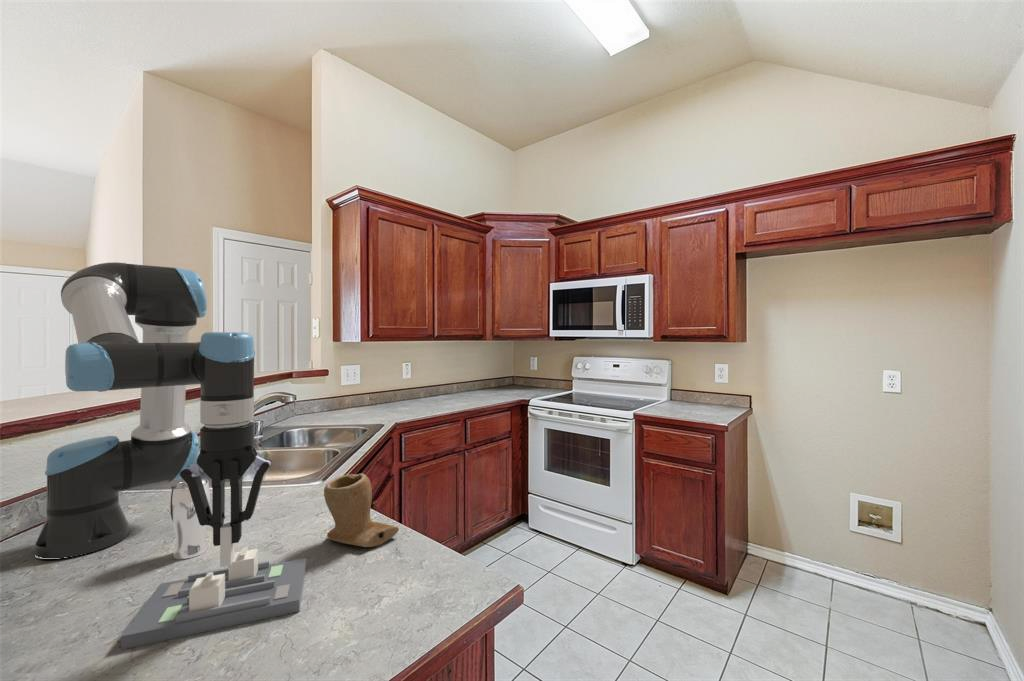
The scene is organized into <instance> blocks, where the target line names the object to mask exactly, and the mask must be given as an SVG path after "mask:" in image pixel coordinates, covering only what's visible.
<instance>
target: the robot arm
mask: <svg viewBox="0 0 1024 681" xmlns="http://www.w3.org/2000/svg"><path fill="white" fill-rule="evenodd" d="M60 299H61V303H62V306H63V307H64V309H65V310H66V311H67V312H68V313H69V314H71V315H72V316H71V317H72V321H73V325H74V329H75V334H76V339H77V343H73V344H70V345H68V346H67V347H66V349H65V354H64V355H65V362H64V366H65V368H64V372H65V373H64V374H65V383H66V387H67V388H68V389H69V390H70V391H74V392H99V393H101V392H107V391H118V390H119V391H121V390H129V389H130V390H132V389H134V390H135V389H140V410H139V411H140V413H139V425H138V426H137V427H136V428H134V429H133V430H132V431H131V434H130V436H131V437H130V439H128V440H123V441H122V440H120V439H119V437H118V436H116V435H108V436H100V437H99V436H98V437H91V438H89V439H82V440H79V441H75V442H71V443H69V444H68V443H67V444H65V445H61V446H60V447H57V448H55V449H54V450H52V451H50V453H49V454H48V456H47V458H46V470H45V471H44V475H45V476H46V516H45V517H46V518H45V521H44V523H43V525H42V527H41V530H40V532H39V534H38V536H37V539H36V542H35V544H34V556H35V555H36V556H38V557H42V558H64V557H71V556H76V555H81V554H85V553H89V554H91V553H90V552H92V553H95V552H94V551H96V552H98V551H97V550H99V551H101V550H100V549H102V550H104V549H103V548H105V547H107V548H109V547H108V546H110V547H112V546H114V545H116V544H118V543H120V542H121V540H122V541H123V540H124V538H125V537H126V536H127V535H128V536H129V534H128V533H129V532H130V528H129V526H130V525H129V522H128V520H127V518H126V515H125V513H124V511H123V508H122V507H121V505H120V503H119V502H120V501H119V494H120V492H122V491H127V490H132V489H138V488H143V487H148V486H153V485H158V484H162V483H171V482H174V481H177V480H181V479H182V480H183V482H184V481H185V482H186V483H187V484H188V488H189V491H190V494H191V498H192V501H193V504H194V508H195V511H196V514H197V517H198V521H199V524H200V525H201V526H205V525H206V526H210V527H211V528H212V544H213V546H214V547H217V546H219V548H220V551H219V557H220V558H219V560H220V563H219V566H220V568H223V567H228V566H230V565H231V564H232V562H233V560H234V558H235V552H236V551H235V546H236V545H235V544H238V543H239V542H240V540H241V538H242V531H243V529H242V528H243V527H242V525H243V522H245V521H248V520H250V519H251V518H252V516H253V514H254V512H255V508H256V506H257V502H258V498H259V495H260V491H261V487H262V484H263V479H264V476H265V474H266V472H267V471H268V469H269V468H270V466H271V464H272V460H271V459H270V458H266V459H264V458H263V457H261V456H258V452H257V450H256V449H255V444H254V443H255V441H254V440H255V438H254V437H255V436H254V434H255V433H254V432H255V427H254V426H255V424H254V423H253V422H252V420H254V418H255V395H254V391H255V386H254V385H255V384H254V383H255V355H256V352H255V347H254V346H255V344H254V337H253V335H252V334H251V333H249V332H237V331H236V332H233V331H230V332H228V331H227V332H226V331H225V332H224V331H223V332H222V331H220V332H219V331H217V332H215V331H214V332H213V331H207V332H204V333H202V335H201V336H200V341H198V342H189V332H190V331H191V330H192V329H193V328H195V327H196V326H197V325H198V324H197V323H198V321H197V320H198V319H201V318H204V317H205V316H206V314H207V310H208V307H207V306H208V303H207V294H206V290H205V284H204V282H203V279H202V277H201V276H200V275H199V274H198V273H197V272H196V271H193V270H190V269H184V268H177V267H170V266H159V265H158V266H157V265H147V264H146V265H145V264H137V263H136V264H134V263H126V262H118V261H117V262H115V261H114V262H102V263H98V264H93V265H90V266H86V267H84V268H82V269H80V270H78V271H77V272H74V273H72V275H70V276H69V277H68V278H67V279H66V280H65V282H64V283H63V284H62V287H61V290H60ZM129 316H134V324H136V325H137V326H138V327H140V328H141V329H142V342H140V340H139V339H138V337H137V336H138V335H137V334H136V332H135V330H134V329H135V328H134V327H133V324H132V322H131V320H130V317H129ZM197 318H198V319H197ZM191 385H192V386H193V385H200V401H199V404H200V405H199V406H200V409H199V411H200V412H199V413H200V415H199V416H200V420H199V422H200V424H201V425H203V426H202V427H201V428H200V431H199V432H200V433H199V436H200V437H199V436H198V434H197V433H196V432H195V431H192V427H191V426H190V425H189V424H187V423H186V422H185V412H186V410H185V409H186V393H187V392H186V390H187V388H186V387H187V386H191ZM199 439H200V440H199ZM199 444H200V445H199ZM252 464H254V466H253V470H254V472H255V474H254V477H253V480H252V483H251V485H250V486H251V487H250V491H249V495H248V497H247V502H246V505H245V508H244V510H243V479H244V477H243V476H244V474H245V473H247V471H248V469H249V468H251V465H252ZM201 470H202V471H203V472H204V473H205V474H206V475H207V476H208V477H209V479H211V488H212V492H211V493H212V495H211V496H212V501H211V502H212V503H211V504H212V505H210V506H211V507H212V508H211V507H210V506H209V503H208V500H207V496H206V493H205V490H204V486H203V483H202V480H201V479H202V477H201V473H202V471H201ZM226 480H229V486H230V520H226V521H225V519H226V517H227V516H226V515H225V514H226V512H225V509H226V508H225V503H226V501H225V500H226V495H225V494H226V493H225V492H226V491H225V490H226V489H225V488H226V487H225V486H226ZM211 509H212V510H211ZM128 536H127V537H128ZM127 537H126V538H127ZM126 538H125V539H126ZM119 541H120V542H119ZM117 542H118V543H117ZM115 543H116V544H115ZM113 544H114V545H113ZM111 545H112V546H111ZM105 549H106V548H105ZM85 555H86V554H85ZM81 556H82V555H81Z"/></svg>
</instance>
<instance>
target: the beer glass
mask: <svg viewBox="0 0 1024 681" xmlns="http://www.w3.org/2000/svg"><path fill="white" fill-rule="evenodd" d="M201 480H202V483H203V486H204V490H205V493H206V496H207V500H208V503H209V506H211V493H210V483H209V480H208V479H203V478H201ZM170 488H171V491H170V498H169V499H170V500H169V502H170V503H169V511H170V512H169V513H170V520H171V523H172V527H173V532H174V538H175V540H174V541H175V542H174V543H175V544H174V548H173V555H172V558H174V559H175V560H188V559H192V558H193V559H194V558H195V557H198V556H202V554H204V553H206V552H207V551H208V549H209V546H208V541H207V536H206V533H207V530H206V529H207V525H205V526H201V525H200V524H199V521H198V517H197V514H196V511H195V508H194V504H193V501H192V498H191V494H190V491H189V488H188V484H187V483H186V482H185V481H184V480H183V481H180V482H178V483H175V484H172V486H171V487H170Z"/></svg>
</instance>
